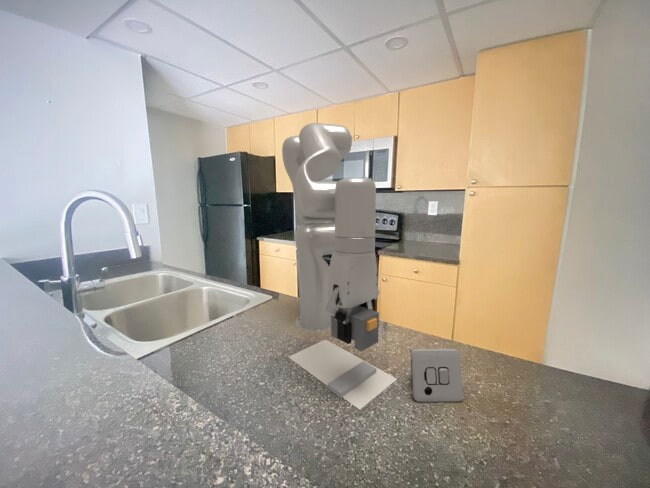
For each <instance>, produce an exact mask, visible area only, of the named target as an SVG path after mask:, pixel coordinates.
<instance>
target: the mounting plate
mask: <svg viewBox="0 0 650 488" xmlns="http://www.w3.org/2000/svg"><path fill="white" fill-rule="evenodd" d="M288 359H290V360H291V361H293V362H294V363H295V364H297V365H298V366H300V367H301V368H302V369H304V370H305V371H306V372H308V373H309V374H311V375H312V376H313V377H315V378H316V379H317V380H319V381H320V382H321V383H322V384H324V385H326V387H327V389H328V390H329V391H330V392H332V393H333V394H334V395H336V396H337V397H339V398H340V399H341V398H343V399H344V400H346V401H347V402H348V403H350V404H351V405H353V406H354V407H355V408H356V409H358V410H361V409H363V408H364V407H365V406H367V405H368V404H369V403H370V402H372V400H374V399H375V398H376V397H377V396H379V395H380V394H381V393H382V392H384V391H385V390H386V389H387V388H388V387H390V386H391V385H392V384H393V383H395V382H396V381H397V380H398V378H396V377H395V376H393V375H391V374H389V373H387V372H385V371H383V370H382V369H380V368H378V367H376V366H374V365H372V363H369V362H368V361H366V360H363V359H362V358H360V357H358V356H356V355H354V354H353V353H351V352H349V351H348V350H345V348H342V347H340V346H338V345H336V344H335V343H334V342H331V341H330V340H327V339H324V340H321V341H318V342H317V343H315V344H312V345H310V346H309V347H307V348H304V349H302V350H299V351H298V352H295V353H293V354H291V355H289V356H288Z"/></svg>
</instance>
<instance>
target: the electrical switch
mask: <svg viewBox="0 0 650 488" xmlns="http://www.w3.org/2000/svg"><path fill="white" fill-rule="evenodd" d="M409 352H410V354H409V355H410V372H411V384H412V388H413V389H412V398H413V399H414V401H416V402H418V403H419V402H420V403H422V402H423V403H427V402H428V403H429V402H433V403H434V402H461V401H462V400H463V399H464V393H463V392H464V391H463V379H462V378H463V377H462V366H461V365H462V364H461V353H460V351H459V350H457V349H456V348H428V349H427V348H423V349H422V348H417V349H415V348H414V349H410V350H409Z"/></svg>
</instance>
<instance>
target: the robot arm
mask: <svg viewBox="0 0 650 488" xmlns="http://www.w3.org/2000/svg"><path fill="white" fill-rule="evenodd" d="M352 146H353V138H352V135H351V132H350V130H349V129H348V128H347V127H346V126H344V125H341V124H333V123H331V124H329V123H323V122H322V123H321V122H320V123H319V122H312V123H307V124H305V125H304V126H302V128H301V129H300V131H299V135H292V136H289V137H287V138H286V139H284V141H283V143H282V148H281V151H282V153H281V155H282V162H283V165H284V169H285V172H286V174H287V175H288V178H289V180H290V183H291V185H292V190H293V191H292V192H293V198H294V207H295V210H296V216H297V217H298V219H299V221H300V222H303V223H304V224H301V225H300V226H298V227H297V229H296V230H295V233H294V235H295V236H294V240H295V246H296V252H297V259H298V283H299V284H298V286H299V294H298V295H299V317H298V318H296V319H295V322H294V324H295V326H296V327H297V328H298V329H300V330H302V331H306V332H322V331H326V330H327V331H328V330H331V315H332V316H333V317H334V318H335V320H337V338H338V339H337V340H339V341H342V342H343V343H345V344H348V345H350V344H351V343H352V341H353V340H352V339H351V323H349V320H350V315H351V310H352V307H355V306H358V305H359V306H362V307H365V308H367V309H370V310H373V311H374V309H373V307H374V305H375V303H376V300H377V298H378V296H379V295H380V290H379V288H378V265H377V256H376V250H375V249H376V211H377V210H376V205H377V197H376V196H377V187H376V183H375V181H374V180H373V179H370V178H367V177H364V178H363V177H349V178H347V177H346V178H343V179H339V180H338V181H336V180H335V181H333V180H332V181H330V180H325V179H327V178H330V177H331V176H333V175H334V174H335V173H337V171H338V170H339V169H340V167H341V163H342V160H344V159H345V158H347V157H348V155H349V154H350V152H351V149H352ZM327 255H331V258H330V261H329V262H330V263H329V264H328V262H327V261H326V260H325V259H324V258H323V256H327ZM336 306H337V307H336ZM342 309H344V310H345V313H344V315H343V314H342Z"/></svg>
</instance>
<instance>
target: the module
mask: <svg viewBox="0 0 650 488" xmlns="http://www.w3.org/2000/svg"><path fill="white" fill-rule="evenodd" d="M336 307H337V306H336ZM344 313H345V310H344V309H342V314H343V315H344ZM379 321H380V312H378V311H375V310H374V309H373V310H370V309H367V308H365V307H362V306H359V305H358V306H355V307H352V310H351V315H350V320H349V323H351V339H352V341H354V349H356V350H358V351H360V352H363V351H365V350H367V349H368V348H371V347H372V346H374V345H375V344H378V343H379V329H380V327H379V323H380V322H379ZM330 336H331V337H332V338H335V339H336V340H339V339H338V338H337V320H335V318H334V317H333V316H332V315H331V328H330Z"/></svg>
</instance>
